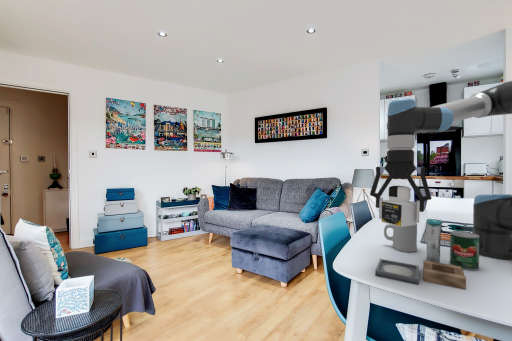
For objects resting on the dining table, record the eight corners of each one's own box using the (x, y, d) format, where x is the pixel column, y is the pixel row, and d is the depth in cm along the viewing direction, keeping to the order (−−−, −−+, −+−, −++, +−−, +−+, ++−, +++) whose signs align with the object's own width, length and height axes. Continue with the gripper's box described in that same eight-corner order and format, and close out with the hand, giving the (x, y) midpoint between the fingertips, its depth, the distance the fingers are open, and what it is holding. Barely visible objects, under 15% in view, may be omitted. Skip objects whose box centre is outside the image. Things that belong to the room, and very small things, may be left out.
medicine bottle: (381, 222, 86) (381, 185, 85) (396, 220, 89) (397, 184, 88) (400, 227, 79) (401, 187, 79) (416, 225, 82) (417, 186, 82)
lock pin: (440, 261, 94) (441, 219, 94) (441, 265, 90) (442, 222, 90) (425, 258, 97) (426, 218, 96) (425, 262, 93) (426, 220, 92)
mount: (460, 276, 82) (461, 266, 82) (465, 289, 74) (466, 278, 74) (423, 269, 88) (423, 260, 87) (423, 280, 79) (423, 270, 79)
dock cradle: (418, 270, 86) (418, 265, 86) (418, 284, 76) (418, 279, 76) (380, 263, 92) (380, 258, 92) (375, 275, 83) (375, 270, 83)
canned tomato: (470, 261, 94) (471, 231, 93) (484, 271, 86) (485, 237, 85) (445, 260, 95) (445, 230, 95) (456, 269, 88) (457, 236, 87)
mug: (417, 247, 109) (417, 221, 109) (416, 253, 102) (416, 225, 101) (385, 242, 116) (385, 217, 115) (382, 248, 108) (382, 221, 108)
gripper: (442, 149, 80) (440, 222, 81) (364, 150, 92) (363, 214, 93) (444, 148, 74) (442, 227, 75) (360, 149, 86) (359, 218, 87)
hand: (398, 219), depth 84 cm, fingers closed on medicine bottle, 10 cm apart
